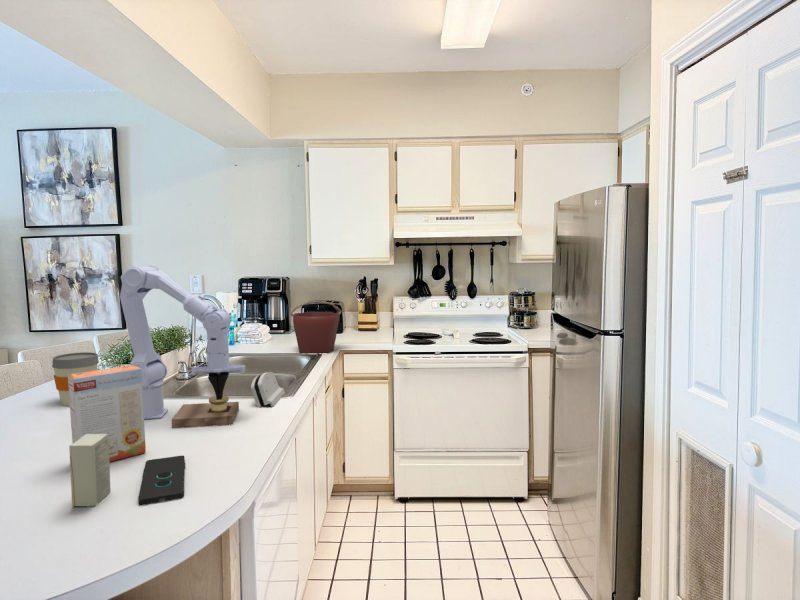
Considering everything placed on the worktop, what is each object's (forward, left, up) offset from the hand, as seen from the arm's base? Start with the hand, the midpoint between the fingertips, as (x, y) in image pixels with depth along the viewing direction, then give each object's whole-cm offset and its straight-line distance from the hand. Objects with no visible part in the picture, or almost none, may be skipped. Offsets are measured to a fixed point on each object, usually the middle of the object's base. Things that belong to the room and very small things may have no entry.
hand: (219, 398), depth 146 cm
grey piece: (+12, +16, -6) cm, 21 cm away
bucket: (+31, +98, -6) cm, 102 cm away
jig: (-4, 0, -6) cm, 7 cm away
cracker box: (-21, -26, -6) cm, 34 cm away
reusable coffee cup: (-48, +25, -6) cm, 54 cm away
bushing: (0, 0, -6) cm, 6 cm away
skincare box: (-17, -47, -6) cm, 50 cm away
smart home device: (-5, -41, -7) cm, 41 cm away
